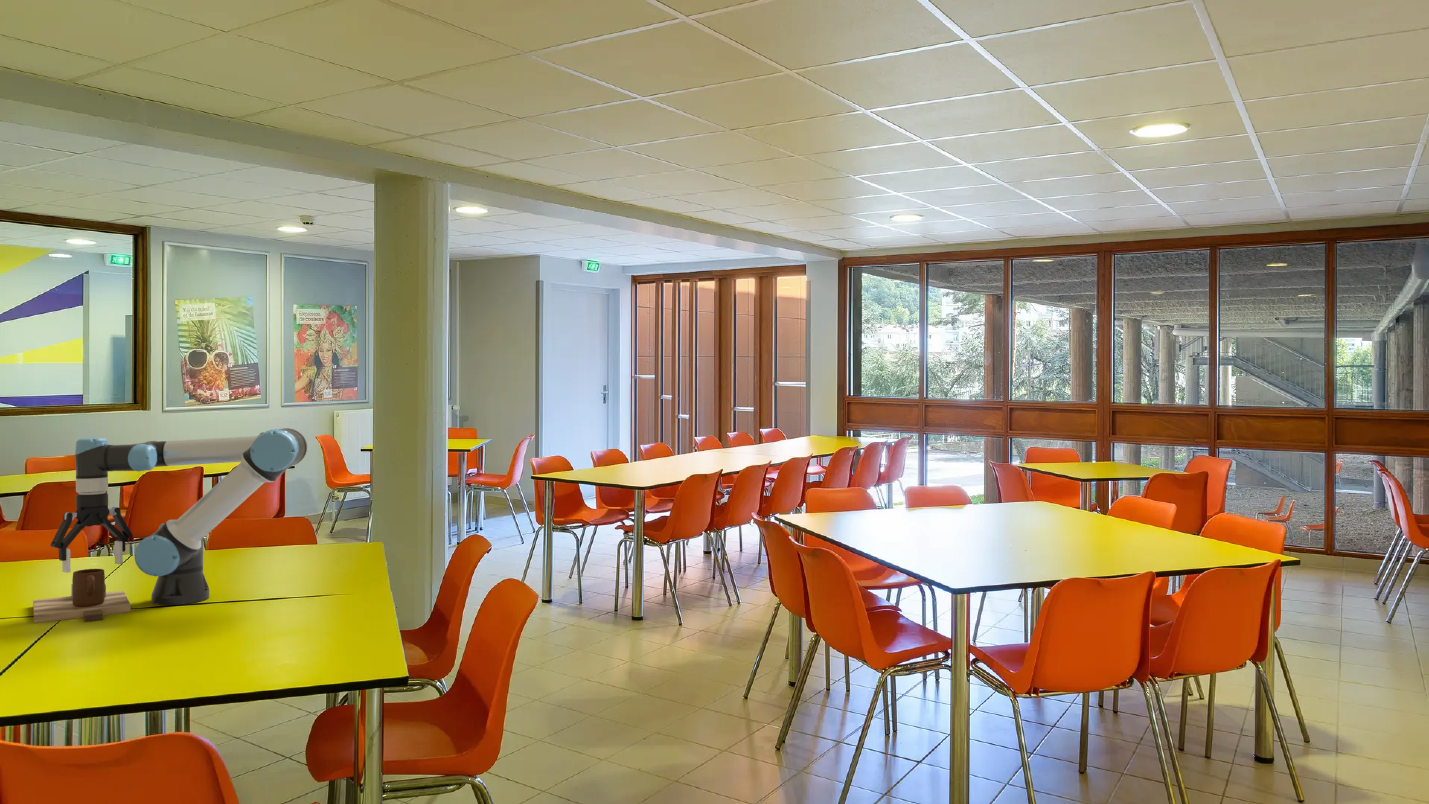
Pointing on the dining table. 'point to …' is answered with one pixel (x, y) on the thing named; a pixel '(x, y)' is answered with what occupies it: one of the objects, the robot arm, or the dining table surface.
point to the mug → (88, 587)
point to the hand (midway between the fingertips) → (93, 568)
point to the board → (79, 608)
